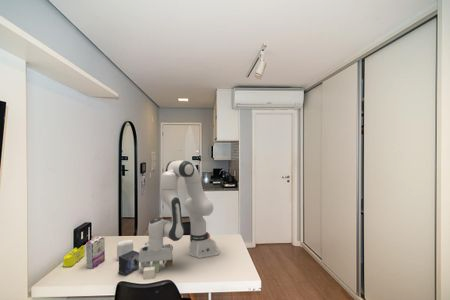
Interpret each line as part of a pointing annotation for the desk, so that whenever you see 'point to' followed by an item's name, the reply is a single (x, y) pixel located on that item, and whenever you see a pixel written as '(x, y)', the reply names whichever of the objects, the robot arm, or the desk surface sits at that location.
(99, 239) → the candy bar box
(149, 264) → the grey brick
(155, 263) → the sage brick
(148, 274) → the cream brick
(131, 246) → the photo printer
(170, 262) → the walnut brick
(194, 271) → the desk surface
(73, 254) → the yellow toy chassis
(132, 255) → the small box
